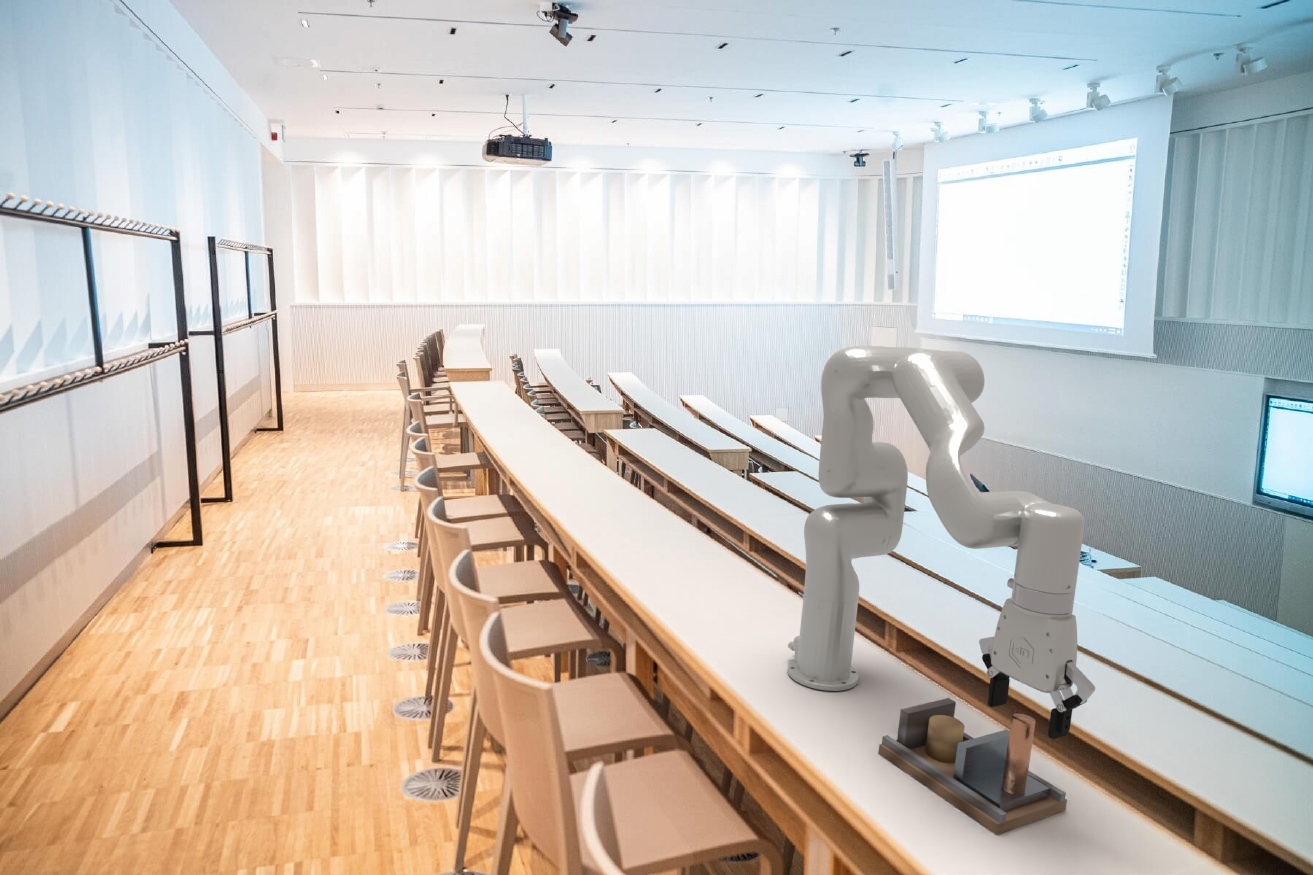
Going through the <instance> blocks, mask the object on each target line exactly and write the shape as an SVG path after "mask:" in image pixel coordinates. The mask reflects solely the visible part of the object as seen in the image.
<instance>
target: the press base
mask: <svg viewBox="0 0 1313 875" xmlns="http://www.w3.org/2000/svg"><path fill="white" fill-rule="evenodd" d="M956 703H957V702H956V701H955V700H953V699H951V698H950V697H946V698H942V699H938V700H934V701H930V702H925V703H921V704H918V705H913V706H909V707H904V708H902V709H901V708H900V713H899V721H898V730H897V737H896V739H894V738H893V737H892V736H890V735H888V734H887V735H883V736H882V737H881V739H882V740H881V743H879V744H878V752H877V753H878V755H880V757H883V758H884V759H885V760H887V761H888V762H890V763H891V764H893V765H894V766H896V767H897V768H899V770H902V772H904V773H906V774H908V775H909V776H910V777H912V778H913V779H914V780H916V781H917V782H919V783H920V784H922V785H924V786H925V787H926V788H928V789H929V790H930V791H932V792H933V793H935V794H936V795H938V796H939V797H941V798H942V799H943V800H945V801H946V802H948V803H949V804H950V805H952V806H953V807H954V808H957V809H958V810H960V811H961V812H963V814H965V815H967V816H968V817H970V818H971V819H973V820H974V822H977V823H978V824H979V825H982V827H984V828H985V829H987V830H988V831H989V832H991V833H992V834H994V835H997V836H998V835H1000V834H1002V833H1005V832H1007V831H1011V830H1013V829H1017V828H1020V827H1021V826H1024V825H1027V824H1030V823H1033V822H1036V821H1038V820H1041V819H1045V818H1046V817H1049V816H1051V815H1055V814H1058V813H1061V812H1064V811H1066V808H1067V802H1068V800H1067V799H1066V796H1067V793H1066V792H1065V790H1062V789H1060V788H1059V787H1057V786H1055V785H1054V784H1052V783H1050V782H1049V781H1047V780H1045V779H1044V778H1042V777H1040V776H1039V775H1037V774H1035V773H1033V772H1032V771H1030V770H1028V776H1030V777H1032V778H1033V779H1035V780H1037V781H1038V782H1040V783H1042V784H1043V785H1045V786H1047V787H1048V788H1050V790H1049V796H1048V797H1045V798H1042V799H1039V800H1036V801H1033V802H1030V803H1027V804H1024V805H1021V806H1018V807H1016V808H1013V809H1010V810H1007V811H1002V810H1001V809H999V808H998V807H996V806H995V805H993V804H992V803H990V802H989V801H987V800H986V799H984V798H983V797H981V796H980V795H978V794H977V793H975V792H974V791H972V790H970V789H969V788H967V787H966V786H964V785H963V784H961V783H960V782H958V781H957V780H955V779H954V778H953V776H954V769H955V763H944V762H939V761H936V760H934V759H932V758H930V757H929V756H928V755H927V754H926V752H925V749H926V741H927V734H928V726H929V719H930V717H932V716H934V715H946V716H950V717H953V718H955V711H956V705H957V704H956ZM974 738H975V737H972V736H971V735H969V734H968V733H966V732H964V735H963V741H967V740H970V739H974Z"/></svg>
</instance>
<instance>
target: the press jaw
mask: <svg viewBox="0 0 1313 875" xmlns="http://www.w3.org/2000/svg"><path fill="white" fill-rule="evenodd" d="M1035 727H1036V719H1035V718H1034V717H1032V716H1030V715H1027V714H1024V713H1014V714H1012V715H1011V718H1010V726H1009V729H1003V730H1000V731H996V732H992V733H988V734H985V735H982V736H981V735H980V736H977V737H973V738H974V739H970V740H967V741H963V742H959V743H958V747H957V754H956V761H955V769H954V776H953V778H954V779H955V780H957V781H958V782H960V783H961V784H963V785H964V786H966V787H967V788H969V789H970V790H972V791H974V792H975V793H977V794H978V795H980V796H981V797H983V798H984V799H986V800H987V801H989V802H990V803H992V804H993V805H995V806H996V807H998V808H999V809H1001V810H1002V811H1007V810H1010V809H1013V808H1016V807H1018V806H1021V805H1024V804H1027V803H1030V802H1033V801H1036V800H1039V799H1042V798H1045V797H1048V796H1049V790H1050V788H1048V787H1047V786H1045V785H1043V784H1042V783H1040V782H1038V781H1037V780H1035V779H1033V778H1032V777H1030V776H1028V771H1029V768H1030V761H1031V755H1032V748H1033V740H1034V734H1035V729H1036V728H1035Z"/></svg>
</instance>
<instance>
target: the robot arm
mask: <svg viewBox="0 0 1313 875" xmlns="http://www.w3.org/2000/svg"><path fill="white" fill-rule="evenodd" d="M984 374H985V372H984V370H983V368H982V366H981V364H980V363H979V362H978V361H977V359H975V358H974V356H972V355H971V354H969V353H966V352H963V351H956V350H955V351H953V350H950V351H949V350H939V349H929V348H920V347H919V348H917V347H905V346H904V347H903V346H902V347H899V346H898V347H897V346H878V345H877V346H875V345H861V346H860V345H857V346H850V347H845V348H842V349H840V350H837V351H836V352H834V353H833V354H832V355H831V356H830V357H829V359H828V360H827V362H826V363H825V365H824V367H823V370H822V374H821V381H820V382H821V383H820V384H821V385H820V387H821V388H820V392H821V402H822V412H823V418H822V419H823V420H822V421H823V422H822V428H821V439H820V441H821V442H820V450H819V460H818V461H819V462H818V483H819V487H820V489H821V491H823V493H824V494H825V495H827V496H829V497H832V498H839V499H849V498H850V499H851V498H852V499H853V498H864V502H861V503H860V502H858V503H856V502H855V503H853V502H851V503H850V502H849V503H835V504H828V505H824V506H819V507H817V508H816V509H814V510H812V511H811V512H810V513H809V515H808V516H807V517H806V519H805V523H804V526H803V529H804V530H803V537H804V545H805V546H804V547H805V548H804V549H805V576H804V578H805V579H804V586H803V587H804V588H803V598H802V607H801V608H802V609H801V619H800V629H799V635H797V636H795V638H794V639H793V641H789V642H788V644H787V648H789V649H790V650H791V651H793V652H794V658H793V659H791V660H790V661H789V662H788V664H787V670H786V671H787V674H788V675H789V677H790V678H791V679H792V680H794V681H795V682H796V683H798V684H800V685H802V686H805V687H808V688H812V689H815V690H820V691H827V692H828V691H829V692H830V691H831V692H841V691H846V690H849V689H852V688H854V687H855V686H857V685H858V684H859V677H860V675H859V672H858V671H857V669H856V668H855V667H853V665H852V660H853V650H854V644H855V642H854V641H855V633H856V632H855V631H856V625H857V615H858V607H859V606H858V605H859V597H860V580H859V576H858V574H857V572H856V570H855V568H854V566H853V564H852V560H853V559H854V560H855V559H860V558H867V557H868V558H869V557H877V556H879V557H880V556H885V555H887V554H890V553H892V552H893V551H894V550H895V549H896V548H897V547H898V545H899V543H900V541H901V537H902V534H903V533H902V532H903V526H904V525H903V524H904V518H905V517H904V516H905V510H906V509H905V507H906V498H907V489H908V479H909V478H908V477H909V475H908V467H907V461H906V459H905V457H904V455H903V453H902V452H901V450H900V449H899V448H898V447H896V446H895V445H893V444H891V443H889V442H880V441H879V442H873V433H874V426H875V422H874V417H873V416H874V415H873V413H872V411H871V408H870V406H869V404H868V402H867V401H866V399H871V398H873V399H875V398H877V399H900V401H901V402H902V404H903V405H904V408H905V409H906V411H907V413H908V415H909V416H910V417H911V419H912V421H913V423H914V425H915V427H916V429H917V430H918V432H919V434H920V435H921V437H922V438H923V441H924V442H925V444H926V445H927V448H928V449H929V450H928V451H929V455H928V458H927V461H926V465H925V467H926V468H925V484H926V485H925V486H926V492H927V493H926V494H927V495H928V496H927V497H928V499H929V502H930V504H931V506H932V508H933V509H934V511H935V513H936V515H937V516H938V518H939V520H940V522H941V524H942V525H943V528H945V530H946V531H947V533H948V534H949V535H950V536H951V538H952V539H953V540H954V541H955V542H956V543H958V544H959V545H961V546H963V547H965V548H968V549H974V550H976V549H991V548H1002V547H1017V550H1016V557H1015V558H1016V559H1015V566H1014V567H1015V568H1014V576H1013V577H1010V578H1009V579H1008V580H1007V582H1006V584H1007V587H1008V588H1009V589H1011V590H1012V592H1011V597H1010V598H1007V599H1005V602H1004V604H1003V607H1002V609H1001V611H1000V614H999V618H998V621H997V624H996V628H995V632H994V636H989V637H984V638H983V637H982V638H979V640H978V644H979V647H980V652H981V654H982V656H981V658H982V659H981V660H982V662H983V663H984V665H985V667H986V669H987V670H986V676H987V677H988V678H989V687H988V699H987V706H989V707H990V708H996V707H1001V706H1003V705H1007V703H1008V698H1009V690H1010V688H1009V687H1010V682H1011V679H1013V680H1015V681H1016V682H1019V683H1021V684H1024V685H1026V686H1028V687H1029V688H1032V689H1035V690H1036V691H1039V692H1041V693H1043V694H1044V693H1045V694H1049V695H1050V697H1051V699H1052V701H1053V703H1054V706H1055V707H1054V708H1052V709H1051V711H1050V716H1049V717H1050V718H1049V725H1048V732H1047V736H1048V738H1049V739H1051V740H1056V739H1060V738H1062V737H1066V736H1067V735H1068V734H1069V731H1070V729H1071V722H1072V715H1073V710H1074V709H1077V708H1078V707H1080V706H1082V705H1083V704H1085V703H1087V702H1088V699H1090V698H1091V697H1092V694H1094V692H1095V691H1096V686H1095V684H1094V683H1092V681H1091V680H1089V678H1088V677H1087V676H1086V675H1085V674H1084V673H1083V672H1082V671H1081V670H1080V668H1078V667H1077V659H1078V627H1077V626H1078V624H1077V618H1076V615H1075V614H1073V611H1074V604H1075V598H1076V597H1075V596H1076V589H1077V582H1078V574H1079V567H1080V560H1081V554H1082V544H1083V539H1084V530H1085V519H1084V515H1083V514H1082V513H1081V512H1080V511H1079V510H1077V509H1075V508H1073V507H1070V506H1066V505H1062V504H1057V503H1051V502H1049V501H1047V500H1046V499H1044V498H1042V497H1041V496H1038V495H1036V494H1035V493H1033V492H1029V491H1025V490H1024V491H1023V490H1006V491H1001V490H999V491H998V490H997V491H984V492H983V491H982V492H981V491H980V492H976V490H975V489H974V487H973V485H972V484H971V482H970V480H969V479H968V478H967V476H966V474H965V472H964V470H963V467H962V464H961V459H960V457H961V456H962V455H964V454H965V453H967V452H969V450H971V449H972V448H974V446H976V445H977V444H978V443H979V441H980V440H981V439H982V437H983V435H984V433H985V422H984V421H983V419H982V417H981V415H980V414H979V413H978V411H977V410H976V408H975V406H974V405H973V403H974V402H975V401H978V399H979V398H980V396H981V395H982V393H983V391H984V388H985V380H986V379H985V375H984ZM1010 678H1011V679H1010ZM1073 685H1075V686H1076V689H1077V690H1076V691H1075V693H1073V690H1072V686H1073Z"/></svg>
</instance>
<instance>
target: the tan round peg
mask: <svg viewBox="0 0 1313 875" xmlns="http://www.w3.org/2000/svg"><path fill="white" fill-rule="evenodd" d="M964 733H965V724H964V723H963V722H962V721H961V720H960V719H958V718H956V717H954V718H953V717H950V716H946V715H934V716H932V717H930V719H929V726H928V734H927V741H926V749H925V752H926V754H927V755H928V756H929V757H930V758H932V759H934V760H936V761H939V762H944V763H955V761H956V754H957V747H958V743H959V742H963V735H964Z"/></svg>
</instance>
